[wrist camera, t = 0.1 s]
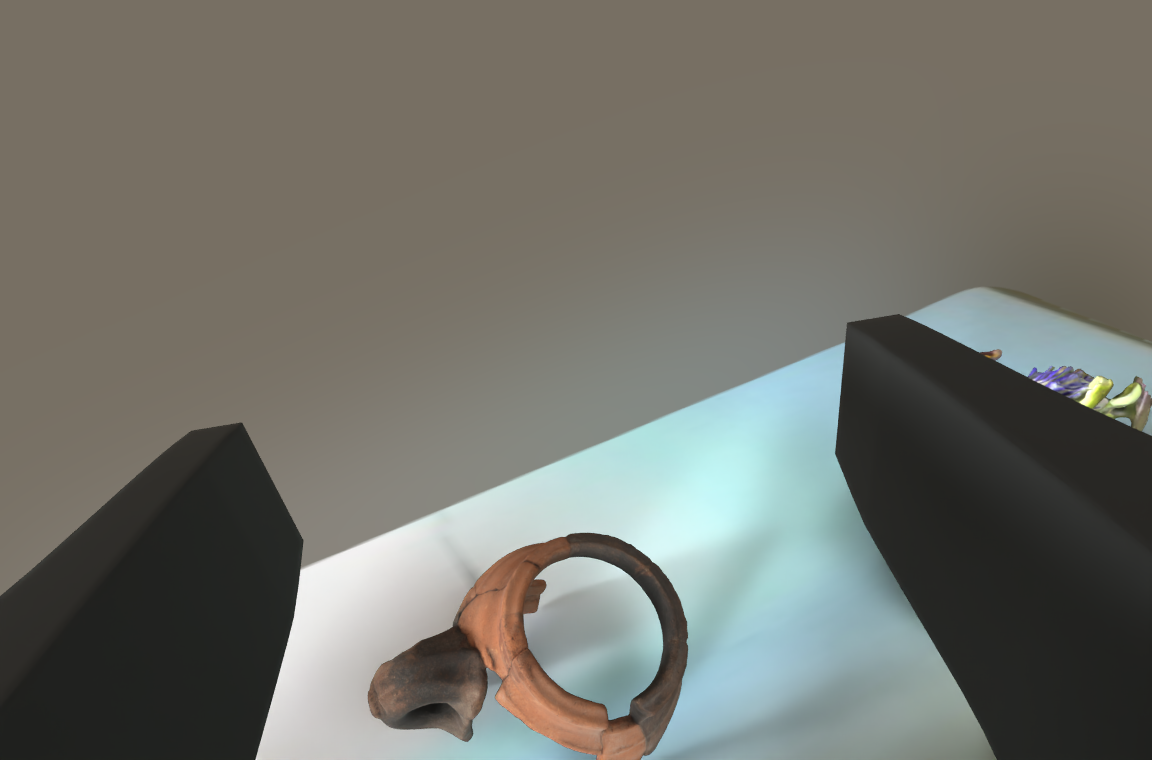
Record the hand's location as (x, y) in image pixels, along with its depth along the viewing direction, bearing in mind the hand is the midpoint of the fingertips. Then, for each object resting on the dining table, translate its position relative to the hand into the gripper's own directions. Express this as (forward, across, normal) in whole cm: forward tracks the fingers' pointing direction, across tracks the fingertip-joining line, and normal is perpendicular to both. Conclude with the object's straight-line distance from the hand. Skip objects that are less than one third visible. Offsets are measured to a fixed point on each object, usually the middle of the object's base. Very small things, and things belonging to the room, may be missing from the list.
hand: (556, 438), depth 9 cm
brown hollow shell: (+10, +3, +23) cm, 25 cm away
